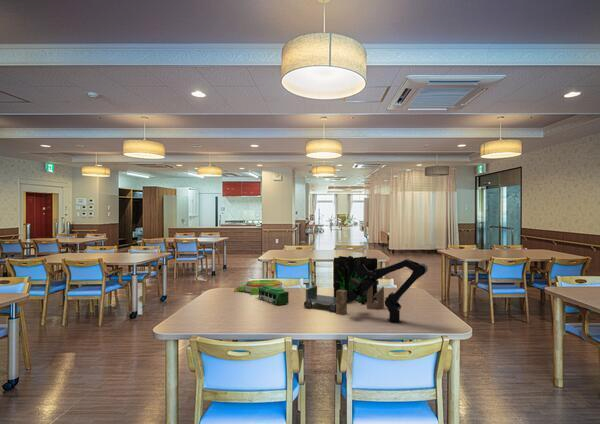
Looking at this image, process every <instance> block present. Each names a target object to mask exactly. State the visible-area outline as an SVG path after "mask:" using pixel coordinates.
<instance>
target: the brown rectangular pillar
mask: <svg viewBox="0 0 600 424" xmlns="http://www.w3.org/2000/svg"><path fill="white" fill-rule="evenodd" d="M346 301H347V290H337V291H336V312H335V314H336V315H341V316H345V315H346V314H347V313H348V303H346Z"/></svg>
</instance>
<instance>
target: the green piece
mask: <svg viewBox="0 0 600 424" xmlns="http://www.w3.org/2000/svg"><path fill="white" fill-rule="evenodd" d="M267 285H270V286H274V287H277V288H281V289H283V285H282V281H280V280H279V279H278V280H277V279H252V280H249V281H246V282H245V284H239V285H238V286H237V287H235V288H234V290H233V292H234V293H238V291H241V292H242V291H243V292H248V293H250V294H251V295H253V296H258V295H259V287H263V286H267Z"/></svg>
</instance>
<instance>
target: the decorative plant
mask: <svg viewBox="0 0 600 424" xmlns="http://www.w3.org/2000/svg"><path fill="white" fill-rule="evenodd" d="M363 264H364V265H365V267H366V268H367V269H368V270H369V271H371V270H375V269H378V258H375V257H370V258H369V257H367V256H366V255H365V256H357V257H356V256H355V257H354V256H352V255H348V256H341V255H339V256H338V257H333V297H336V291H337V290H347V299H348V297H349V291H350V290H351V289H355V286H353V285H351V284H349V281H350V280H351V279H352V278H355V279H357V280H358V281H360V282H362V281H364V280H365V279H366V278H367V277H368V276H367V277H365V278H364V279H363V278H360V277H359V276H358V275H357V273H356V272H355V270H356V269H357V268H359V267H360V266H361V265H363ZM376 280H378V279H376ZM355 290H356V289H355ZM377 292H378V285H377V286H376V285H375V284H374V285H373V296H374V295H375V294H376V293H377ZM375 301H377V302H378V298H373V302H375ZM354 302H357V303H359V304H361V305H365V303H367V294H366V295H364V296H362V297H359V298H358V299H357V300H355V301H354Z"/></svg>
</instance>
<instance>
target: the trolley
mask: <svg viewBox="0 0 600 424" xmlns="http://www.w3.org/2000/svg"><path fill="white" fill-rule="evenodd" d="M313 303H314V304H318V305H319V304H321V305H327V306H328V310H329V312H331V313H336V297H334V296H330V295H322V294H318V286H317V285H314V286H311V287H309V288H306V289H305V301H304V302H303V307H304V308H305V309H307V310H309V309H311V308H312V306H313Z"/></svg>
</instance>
